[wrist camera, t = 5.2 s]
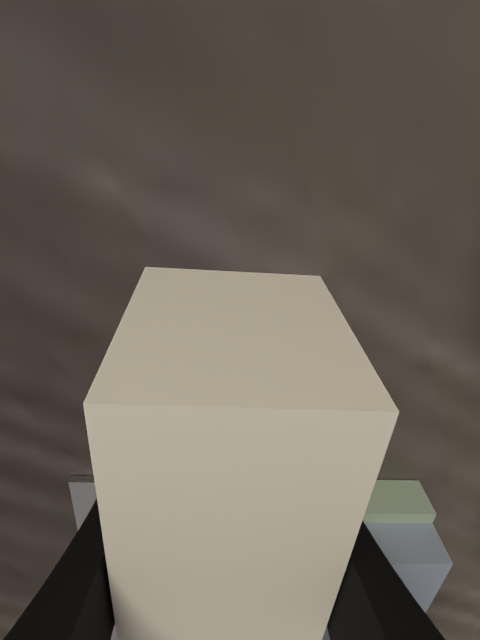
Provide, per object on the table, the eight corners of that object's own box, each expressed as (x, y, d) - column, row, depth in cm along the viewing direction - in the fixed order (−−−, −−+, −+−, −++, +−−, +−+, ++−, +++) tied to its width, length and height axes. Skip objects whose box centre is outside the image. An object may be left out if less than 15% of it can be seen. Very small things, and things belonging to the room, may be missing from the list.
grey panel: (105, 663, 22) (90, 739, 19) (71, 475, 15) (39, 555, 12) (146, 662, 22) (136, 738, 20) (130, 476, 15) (112, 555, 12)
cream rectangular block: (155, 498, 16) (123, 690, 11) (145, 264, 11) (81, 403, 6) (279, 499, 16) (306, 686, 11) (319, 273, 12) (400, 412, 6)
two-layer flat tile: (263, 660, 23) (269, 733, 20) (302, 478, 16) (319, 555, 13) (344, 659, 23) (360, 730, 20) (418, 480, 16) (457, 555, 13)
